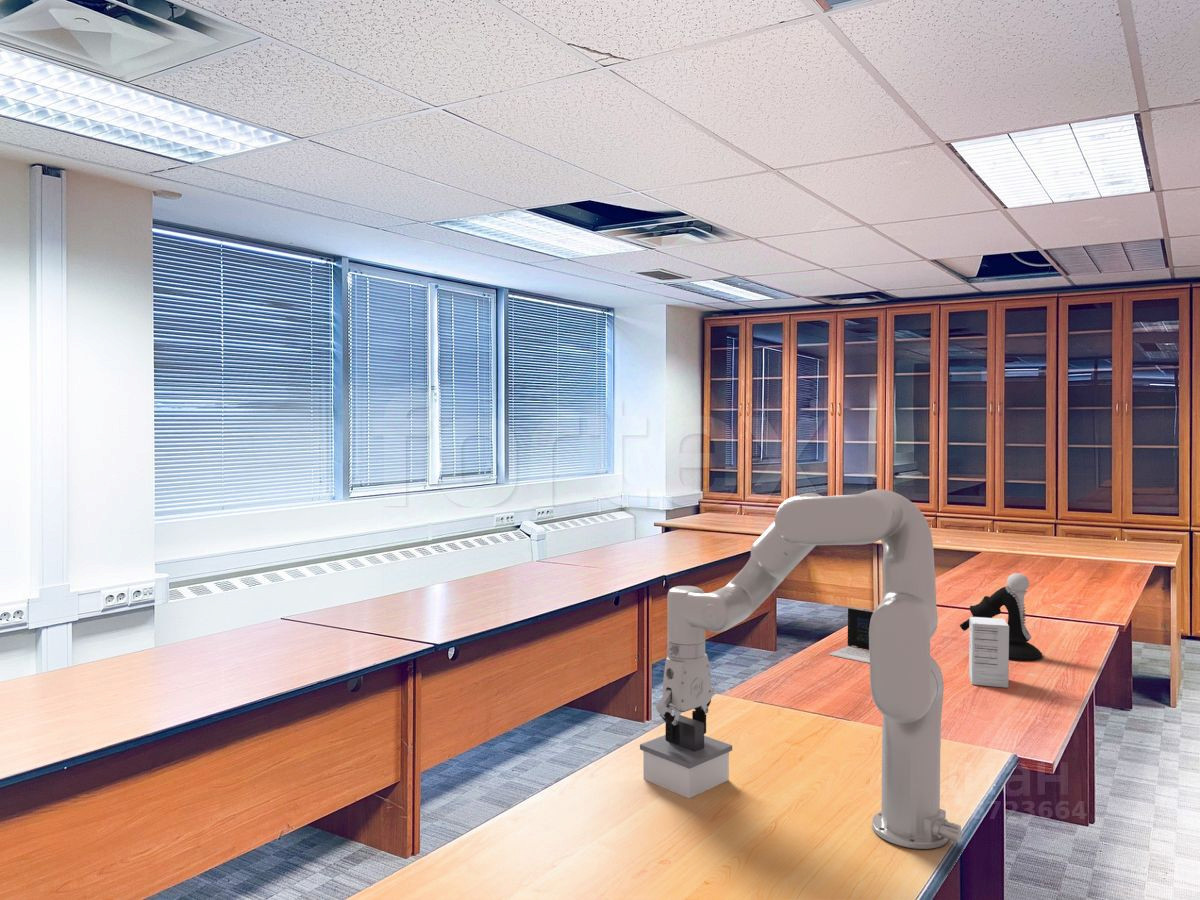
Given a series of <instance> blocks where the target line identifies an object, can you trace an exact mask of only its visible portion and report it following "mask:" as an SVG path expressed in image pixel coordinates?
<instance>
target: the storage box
mask: <svg viewBox="0 0 1200 900" xmlns="http://www.w3.org/2000/svg"><path fill="white" fill-rule="evenodd" d="M729 754H730V752H728V753H725V754H723V755H721V756H718V757H716V758H714V759H711V760H709V761H707V762H704V763H702V764H700V765H697V766H695V767H693V768H690V769H688V768H686V767H683V766H681V765H678V764H676V763H673V762H671V761H668V760H666V759H663V758H660V757H658V756H655V755H653V754H650V753H648V752H645V751H643V780H645V781H647V782H650V783H652V784H654V785H657V786H659V787H661V788H664V789H665V790H668V791H671V792H673V793H676V794H678V795H679V796H682V797H685V798H687V799H692V798H693V797H695V796H698V795H699V794H702V793H704V792H706V791H708V790H710V789H712V788H714V787H717V786H719V785H721V784H723V783H725V782H727V781H729V780H730V775H729V773H730V769H729V768H730V766H729V765H730V764H729V763H730V761H729V760H730V755H729Z"/></svg>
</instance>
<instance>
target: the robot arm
mask: <svg viewBox="0 0 1200 900" xmlns="http://www.w3.org/2000/svg"><path fill="white" fill-rule="evenodd" d="M880 541H881V543H882V548H883V549H882V551H883V552H882V562H881V563H882V564H881V565H882V569H881V570H882V580H883V582H882V584H883V585H882V589H883V590H882V591H883V592H882V601H881V602H880V603H878V605H877V606H876V607H875V609H874V610H873V611H872V612H873V614H872V617H871V620H870V626H869V654H870V663H869V681H870V682H869V683H870V692H871V697H872V698H871V699H872V701H873V703H874V705H875V706H876V708H877V710H878V711H879V712H880V713H881V714H882V726H881V727H882V728H881V729H882V731H881V734H882V738H881V811H879V812H877V813H875V814H874V815H873V817H872V819H871V828H872V829H873V832H874V833H876V835H877V836H879V837H880V838H881V839H883V840H884V841H887V842H889V843H891V844H894V845H895V846H896V845H897V846H900V847H904V848H909V849H918V850H930V849H937V848H940V847H943V846H944V845H946V844H947V843H948V842H949V840H950V841H952V842H955V843H957V844H960V843H961V841H963V831H962V826H961V825H960V824H958V823H954V822H951V821H948V819H947V818H946V810H945V809H941V807H940V805H941V803H940V802H941V747H942V746H941V745H942V743H941V742H942V714H943V713H942V712H943V702H944V687H945V686H944V677H943V672H942V669H941V668H940V667H941V666H940V665H939V664H938V662H937V661H936V660H935V659H934V658H933V657H932V656H931V639H932V638H933V636H934V635H935V633H936V630H937V628H938V624H939V619H938V608H937V607H938V605H937V590H936V589H937V587H936V584H937V583H936V571H935V570H936V569H935V555H934V554H935V552H934V551H935V550H934V541H933V537H932V532H931V529H930V525H929V522H928V521H927V518H926V517H925V515H924V514H923V512H922V511H921V509H919V507H918V506H917V505H916V504H915V503H913V501H911V500H910V499H908V498H907V497H905V496H903V495H902V494H901V493H900V494H899V493H897V492H895V491H893V490H887V489H882V488H881V489H879V488H878V489H877V488H876V489H875V488H873V489H870V490H867V491H863V492H861V493H856V494H841V495H840V494H839V495H824V496H823V495H821V494H819V493H815V492H806V493H801V494H797V495H792V496H791V497H788V498H787V499H785V500H783V502H781V503H780V505H779V506H778V508H777V509H776V511H775V515H774V521H773V522H772V523H771V524H770V525H769V526H768V527H767V528H766V529H765V530H764V531H763V532H762V534H760V536H759V537H758V538H757V539H756V540H755V541H754V542H753V543H752V545H751V547H750V557H749V559H748V561H747V562H746V564H745V565H744V566H743V567H742V569H741V570H740V571H739V572H738V573H737V574H736V575H734V577H733V578H732V579H731V580H730V581H729V582H728V583H727V584H726V585H725V586H723V587H720V588H719V589H716V590H715V591H714V590H713V591H710V592H707V593H706V592H705V591H704V590H703V589H702V588H700V587H698V586H694V585H677V586H674V587H671V588H670V589H669V590H668V592H667V597H666V598H667V599H666V600H667V601H666V603H667V608H666V611H667V617H666V618H667V619H666V620H667V621H666V623H667V624H666V625H667V627H666V628H667V629H666V630H667V636H666V637H667V638H666V639H667V647H666V650H665V651H666V655H667V656H666V658H665V664H664V671H663V679H662V681H663V682H662V696H661V698H660V700H659V701H658V703H657V704H656V706H655V709H656V711H657V712H658V713H659V716H660V717H661V718H662V720H663V722H664V723H665V735H666V741H667V742H670V743H673V744H676V745H677V744H679V743H680V725H679V724H677V722H678V719H679V716H680V715H681V713H686V712H689V711H691V710H692V712H691V714H692V715H691V717H692V718H691V719H694V720H697V721H700V722H703V723H704V735H705V734H707V714H708V713H709V706H710V705H711V702H712V698H713V696H714V694H715V688H714V687H712V679H711V677H712V675H711V667H710V666H711V665H710V661H709V657H708V654H707V653H706V631H708V632H712V633H722V632H725V631H727V630H729V629H731V628H733V627H734V626H736V625H738V624H739V623H742V622H743V621H745V620H746V619H748V617H750V616H751V615H752V614H753V613H754V612H755V611H757V609H758V608H759V607H760V606H761V605H762V604H763V603H764V602H765V601H766V600H767V599H768V598H769V597H770V596H771V594H772V593H773V592H774V591H775V590H776V589H777V588H778V587H779V585H780V584H781V583H782V582H784V580H785V579H786V578H787V576H788V575H789V574H790V573H791V572H792V571H793V570H794V569H795V568H796V567H797V566H798V565H799V563H801V561H803V559H804V558H805V557H806V556H807V555H808V554H810V553H811V551H812V550H814V548H815V547H816V546H845V545H847V546H849V545H850V546H854V545H855V546H856V545H868V544H873V543H877V542H880ZM672 711H674V713H673V715H672Z"/></svg>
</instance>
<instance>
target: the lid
mask: <svg viewBox="0 0 1200 900" xmlns="http://www.w3.org/2000/svg"><path fill="white" fill-rule="evenodd" d="M677 724H679V725H680V743H679V744H677V745H676V744H673V743H670V742H667V741H666V734H664V735H662V736H659V737H656V738H654V739H651V740H649V741H645V742H643V743H640V744H639V750H641V751H643V752H644V751H645V752H648V753H650V754H653V755H655V756H658V757H660V758H663V759H666V760H668V761H671V762H673V763H676V764H678V765H681V766H683V767H686V768H688V769H690V768H693V767H695V766H697V765H700V764H702V763H704V762H707V761H709V760H711V759H714V758H716V757H718V756H721V755H723V754H725V753H728V752H729V753H730V752H733V744H731V743H730V744H729V743H726V742H724V741H721V740H717V739H715V738H713V737H709V736H706V735H705V734H704V723H703V722H700V721H697V720H694V719H692V718H691V717H688V716H685V715H681V714H680V716H679V719H678V722H677Z"/></svg>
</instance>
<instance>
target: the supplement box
mask: <svg viewBox="0 0 1200 900" xmlns="http://www.w3.org/2000/svg"><path fill="white" fill-rule="evenodd" d="M969 618H970V620H969V628H968V629H969V630H968V631H969V650H968V652H969V653H968V655H969V656H968V659H969V660H968V662H969V663H968V666H969V667H968V677H969V680H970V683H971V685H973V686H985V687H997V688H1006V689H1009V677H1010V676H1009V674H1010V673H1009V662H1010V660H1009V625H1008V621H1006V619H1005V618H1000V617H996V618H995V617H992V618H983V617H972V616H970V617H969Z"/></svg>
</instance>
